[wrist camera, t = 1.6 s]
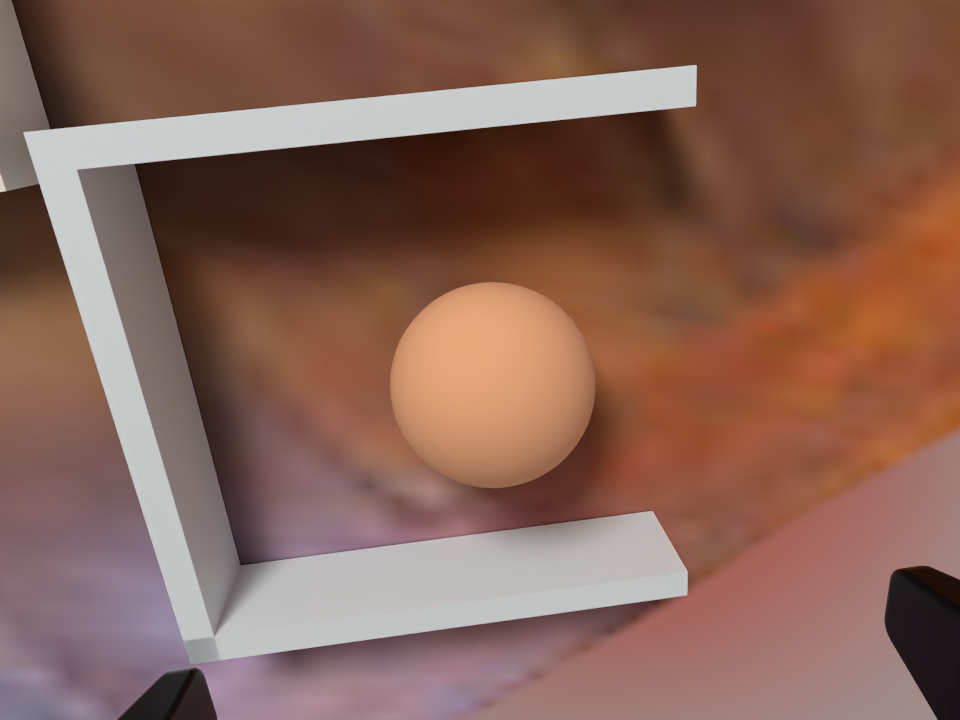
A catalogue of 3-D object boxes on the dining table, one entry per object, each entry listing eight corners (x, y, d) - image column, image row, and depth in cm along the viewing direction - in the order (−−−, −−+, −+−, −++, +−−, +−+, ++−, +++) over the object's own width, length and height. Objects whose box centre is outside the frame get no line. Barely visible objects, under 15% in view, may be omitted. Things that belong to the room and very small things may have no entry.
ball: (575, 419, 20) (622, 514, 16) (405, 440, 20) (403, 543, 15) (566, 252, 19) (618, 303, 14) (380, 273, 18) (369, 332, 14)
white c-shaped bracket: (652, 532, 22) (687, 595, 19) (219, 590, 21) (190, 664, 19) (650, 70, 17) (696, 65, 14) (89, 126, 16) (23, 132, 14)
